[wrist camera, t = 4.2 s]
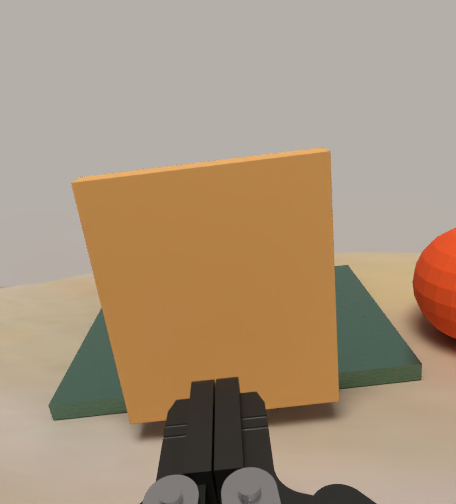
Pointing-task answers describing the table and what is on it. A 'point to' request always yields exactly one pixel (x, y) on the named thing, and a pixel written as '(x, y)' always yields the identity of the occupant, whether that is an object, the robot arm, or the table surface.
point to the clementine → (438, 283)
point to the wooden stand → (217, 277)
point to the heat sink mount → (348, 347)
